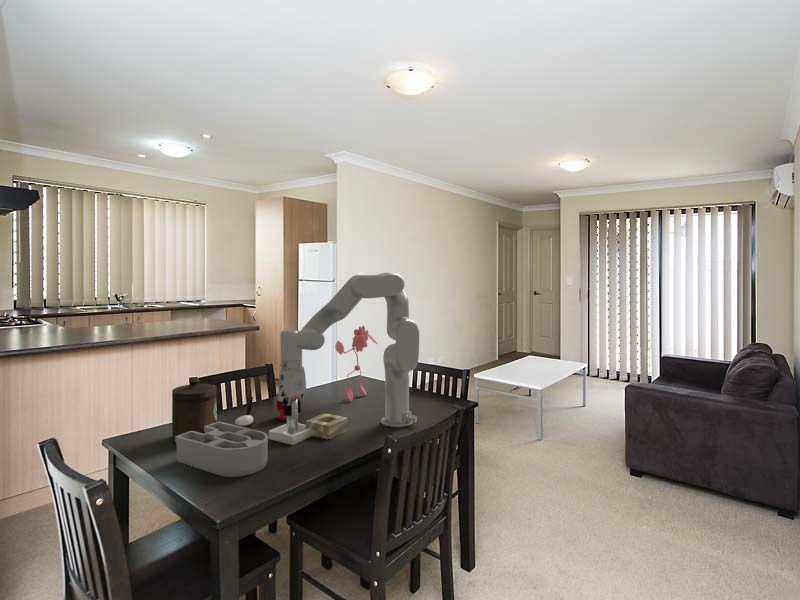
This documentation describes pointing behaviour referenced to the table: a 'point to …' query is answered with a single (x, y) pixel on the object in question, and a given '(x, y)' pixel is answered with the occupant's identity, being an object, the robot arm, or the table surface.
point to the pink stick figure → (359, 342)
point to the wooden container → (193, 407)
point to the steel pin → (293, 416)
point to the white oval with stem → (246, 417)
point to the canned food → (280, 410)
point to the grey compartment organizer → (224, 449)
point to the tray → (283, 436)
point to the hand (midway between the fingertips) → (292, 413)
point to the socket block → (327, 425)
